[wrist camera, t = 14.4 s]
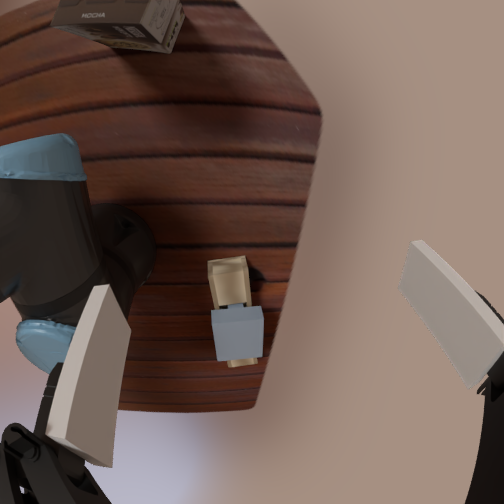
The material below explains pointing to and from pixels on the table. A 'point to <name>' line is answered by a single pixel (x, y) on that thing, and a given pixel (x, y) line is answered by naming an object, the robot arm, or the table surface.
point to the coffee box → (123, 22)
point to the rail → (230, 289)
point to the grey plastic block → (238, 332)
